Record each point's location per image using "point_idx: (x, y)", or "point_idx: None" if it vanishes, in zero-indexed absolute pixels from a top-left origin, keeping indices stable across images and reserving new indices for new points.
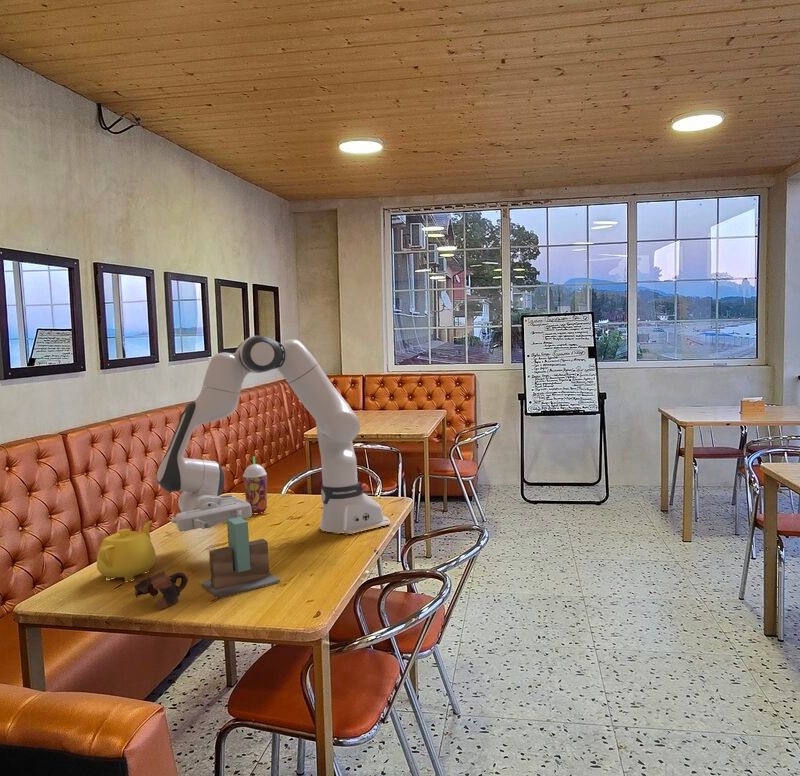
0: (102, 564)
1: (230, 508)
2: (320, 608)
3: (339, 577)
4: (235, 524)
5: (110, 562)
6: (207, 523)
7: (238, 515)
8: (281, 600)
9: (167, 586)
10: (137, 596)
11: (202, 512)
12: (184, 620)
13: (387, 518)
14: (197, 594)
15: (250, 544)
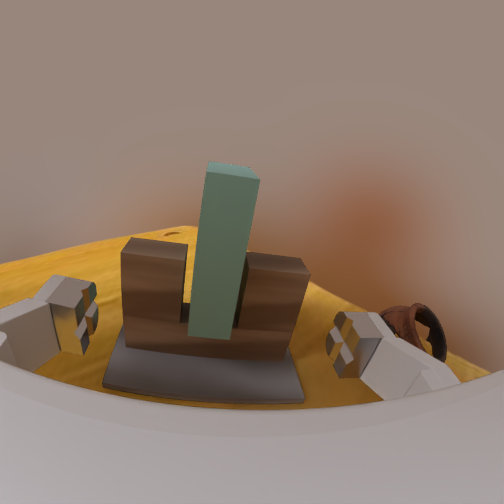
0: None
1: (5, 375)
2: (158, 237)
3: (57, 262)
4: (248, 167)
5: None
6: (339, 316)
7: (84, 281)
8: None
9: (382, 311)
10: (427, 338)
11: (446, 468)
12: (332, 294)
13: None
14: (315, 357)
15: (182, 246)
